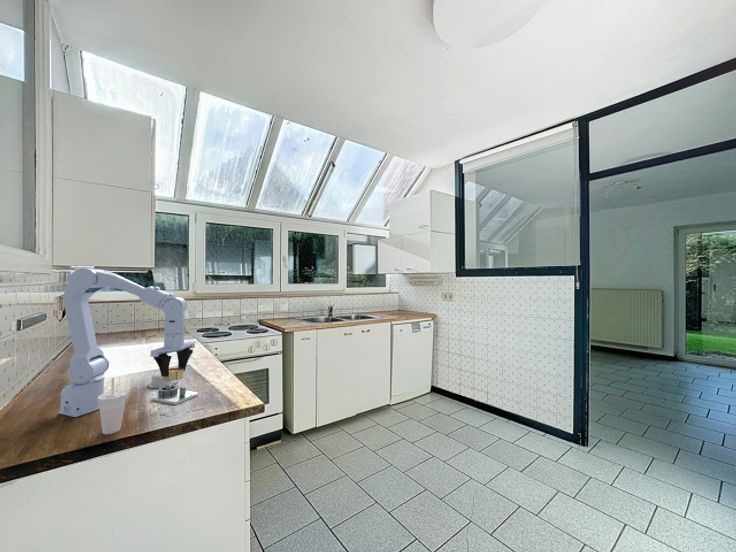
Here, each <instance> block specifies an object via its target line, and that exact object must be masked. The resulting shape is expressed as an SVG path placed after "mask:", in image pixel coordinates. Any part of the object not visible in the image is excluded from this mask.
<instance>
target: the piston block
mask: <svg viewBox="0 0 736 552" xmlns="http://www.w3.org/2000/svg"><path fill="white" fill-rule="evenodd" d="M198 396H199V392H197V391H189V390H187V388H186V386H180V387H179V385H177V384H175V385H171V384H168V385H166V386H164V387H161V388H158V393H157V395H154V396H151V397H150V401H152V402H157V403H162V404H166V405H167V404H168V405H173V406H177V405H179V404H182V403H184V402H186V401H189V400H191V399H193V398H195V397H198Z"/></svg>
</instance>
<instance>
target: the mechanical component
mask: <svg viewBox="0 0 736 552" xmlns="http://www.w3.org/2000/svg"><path fill="white" fill-rule="evenodd" d="M178 383H179V380H174V381H164V380H163V376H161V372H160V371H158V372H155V373H153V374H152V375H151V380H150V381H148V382H147V388H151V389H159V388H161V387H164V386H166V385H168V384H171V385H177V384H178Z"/></svg>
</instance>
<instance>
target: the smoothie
mask: <svg viewBox="0 0 736 552" xmlns="http://www.w3.org/2000/svg"><path fill="white" fill-rule="evenodd" d="M110 389H111V390H110V392H106V393H105V392H104V394H102V395H100V396H99V397H98V398H97V402H98V403H99V409H98V410H99V416H100V424H101V431H102V434H103V435H112V434H115V433H118V432H120V431H121V428H122V422H123V416H124V412H125V405H126V401H127V397H128V394H129V393H128V391H126V390H117V391H116V390H115V377H112V378H111V388H110Z"/></svg>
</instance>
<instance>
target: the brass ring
mask: <svg viewBox="0 0 736 552" xmlns="http://www.w3.org/2000/svg"><path fill="white" fill-rule="evenodd" d="M184 372H185V371H184V368H183V367H178V366H175V367H169V374H168V376H167V377H163V380H164V381H174V380H178V381H179V380H182V379H183V378H184V374H185V373H184Z"/></svg>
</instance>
